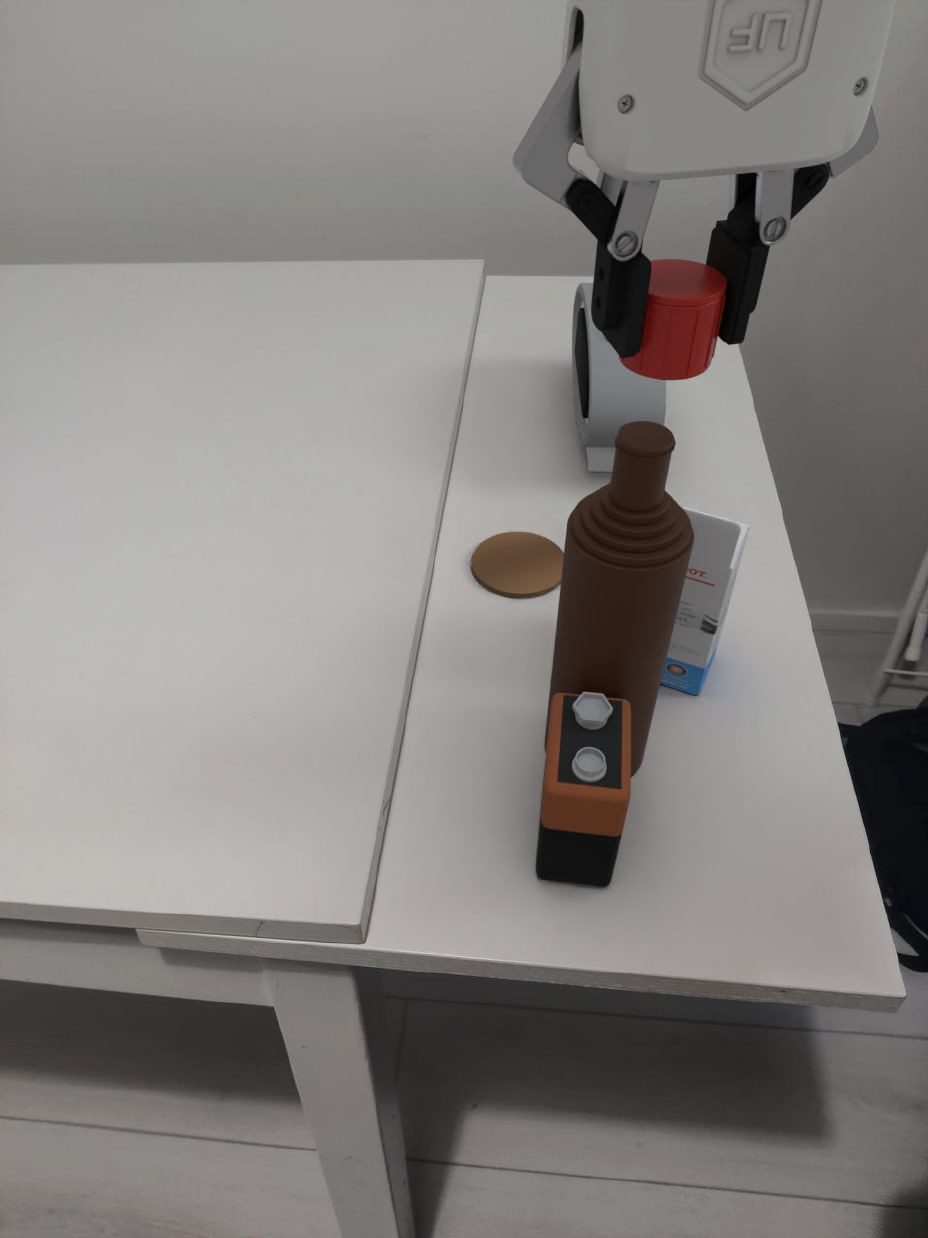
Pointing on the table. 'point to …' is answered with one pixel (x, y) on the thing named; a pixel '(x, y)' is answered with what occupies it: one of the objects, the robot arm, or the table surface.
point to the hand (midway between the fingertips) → (669, 332)
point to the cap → (679, 320)
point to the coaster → (518, 564)
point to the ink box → (703, 599)
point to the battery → (584, 788)
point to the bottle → (623, 582)
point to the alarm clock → (606, 388)
